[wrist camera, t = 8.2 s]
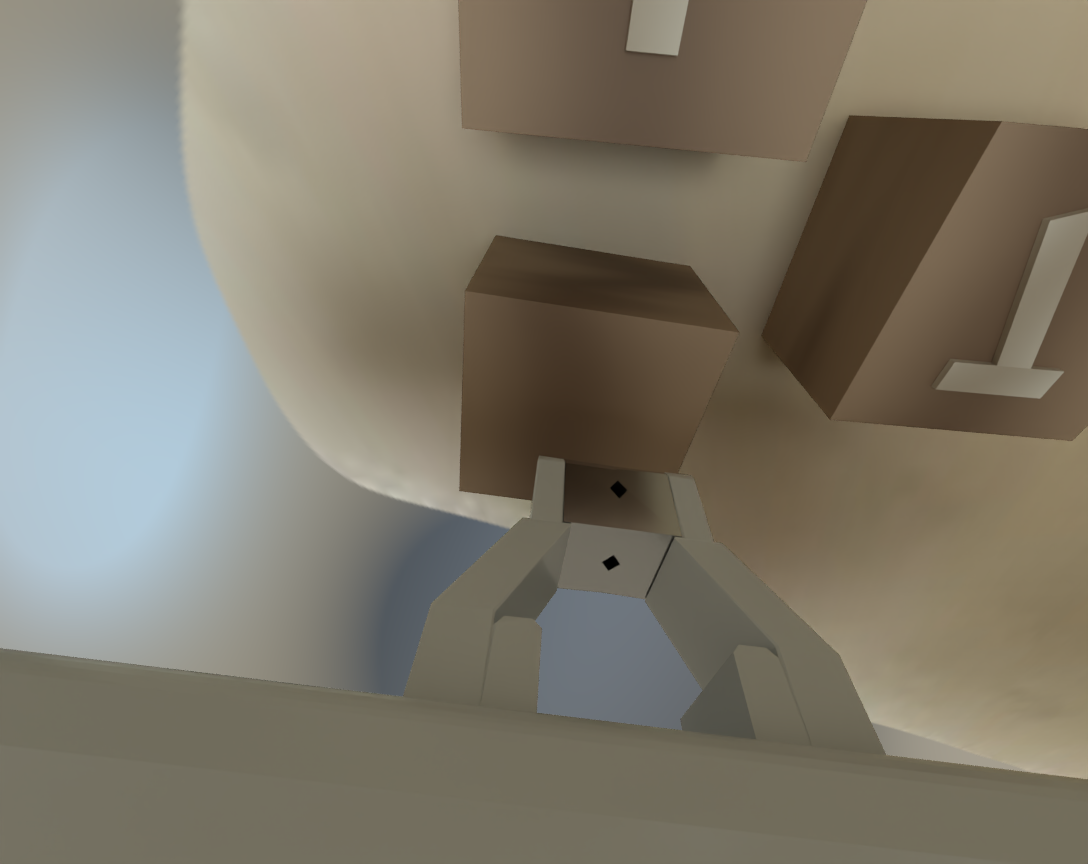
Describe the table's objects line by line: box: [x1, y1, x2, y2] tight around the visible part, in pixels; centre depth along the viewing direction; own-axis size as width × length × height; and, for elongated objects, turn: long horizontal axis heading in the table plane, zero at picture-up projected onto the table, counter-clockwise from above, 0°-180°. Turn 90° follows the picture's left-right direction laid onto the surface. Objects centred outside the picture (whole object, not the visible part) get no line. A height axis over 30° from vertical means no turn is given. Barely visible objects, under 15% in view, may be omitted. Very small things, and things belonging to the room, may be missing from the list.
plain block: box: [459, 235, 739, 500], centre depth 13 cm, size 6×6×5 cm
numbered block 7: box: [761, 116, 1088, 441], centre depth 11 cm, size 6×6×5 cm
